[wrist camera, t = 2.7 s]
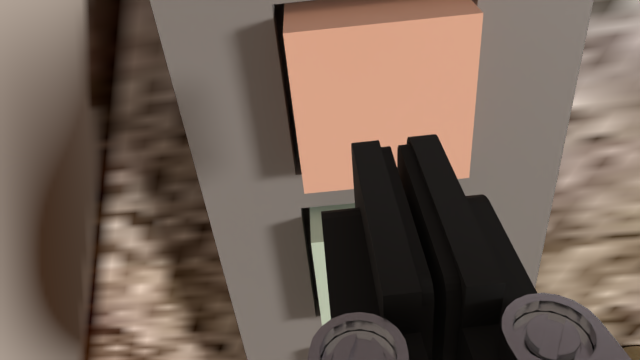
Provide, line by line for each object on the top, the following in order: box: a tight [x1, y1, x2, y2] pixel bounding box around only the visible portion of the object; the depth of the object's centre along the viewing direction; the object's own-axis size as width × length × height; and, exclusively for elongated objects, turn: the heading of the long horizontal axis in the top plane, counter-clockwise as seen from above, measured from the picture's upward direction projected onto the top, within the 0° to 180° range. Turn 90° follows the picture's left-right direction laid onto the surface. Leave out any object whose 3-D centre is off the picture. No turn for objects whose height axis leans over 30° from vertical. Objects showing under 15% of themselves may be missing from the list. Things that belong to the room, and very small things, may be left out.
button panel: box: [150, 0, 593, 360], centre depth 21 cm, size 22×12×4 cm, turn 5°
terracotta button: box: [283, 0, 483, 194], centre depth 16 cm, size 5×5×2 cm
